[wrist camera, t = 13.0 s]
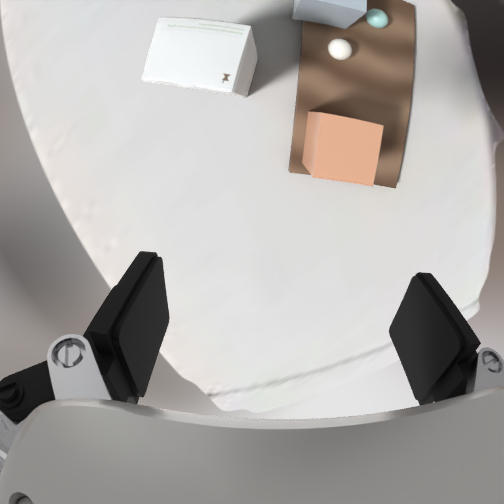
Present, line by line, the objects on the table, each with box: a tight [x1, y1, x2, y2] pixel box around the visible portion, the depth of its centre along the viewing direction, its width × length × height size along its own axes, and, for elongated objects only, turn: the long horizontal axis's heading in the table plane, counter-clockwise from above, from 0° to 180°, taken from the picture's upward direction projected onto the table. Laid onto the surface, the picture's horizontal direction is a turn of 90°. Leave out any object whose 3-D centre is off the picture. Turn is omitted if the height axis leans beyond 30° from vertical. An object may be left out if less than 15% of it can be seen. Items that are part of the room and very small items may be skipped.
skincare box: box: [142, 17, 258, 98], centre depth 24 cm, size 8×7×16 cm
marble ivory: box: [328, 39, 352, 60], centre depth 26 cm, size 3×3×3 cm
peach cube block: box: [302, 111, 383, 186], centre depth 30 cm, size 7×7×8 cm
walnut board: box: [289, 0, 415, 188], centre depth 29 cm, size 30×16×2 cm, turn 176°
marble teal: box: [366, 9, 388, 28], centre depth 23 cm, size 3×3×3 cm
